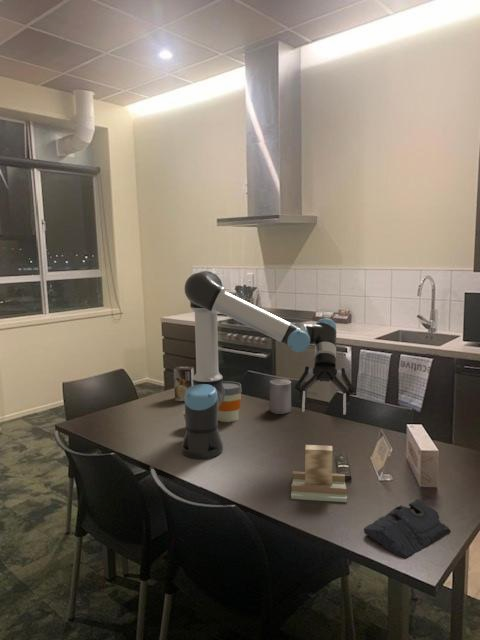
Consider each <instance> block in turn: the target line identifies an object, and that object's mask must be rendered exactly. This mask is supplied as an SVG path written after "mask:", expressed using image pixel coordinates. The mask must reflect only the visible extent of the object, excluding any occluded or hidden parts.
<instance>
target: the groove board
mask: <svg viewBox="0 0 480 640" xmlns="http://www.w3.org/2000/svg"><path fill="white" fill-rule="evenodd" d="M290 485H291V492H290V499H291V500H305V501H321V502H335V503H336V502H337V503H347V502H348V496H347V490H348V489H347V485H346V474H345V473H333V472H332V485H315V484H305V471H296V470H295V471H294V470H293V471H292V483H291V484H290Z"/></svg>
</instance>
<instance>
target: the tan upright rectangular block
mask: <svg viewBox="0 0 480 640" xmlns="http://www.w3.org/2000/svg"><path fill="white" fill-rule="evenodd" d="M304 449H305V450H304V451H305V452H304V455H305V457H304V460H305V461H304V463H305V464H304V467H305V468H304V469H305V470H304V472H305V484H315V485H332V473H333V454H334V453H333V445H321V444H320V445H318V444H305V448H304Z"/></svg>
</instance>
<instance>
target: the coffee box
mask: <svg viewBox="0 0 480 640" xmlns="http://www.w3.org/2000/svg"><path fill="white" fill-rule="evenodd" d="M194 375H195V367H194V366H186V365H185V366H184V365H183V366H178V365H177V366H175V367H174V368H173V387H174V401H175V402H185V400H184V398H185V392H186V390H187V389H188V388H189V387H191V386H193V376H194Z"/></svg>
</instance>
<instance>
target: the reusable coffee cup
mask: <svg viewBox="0 0 480 640" xmlns="http://www.w3.org/2000/svg"><path fill="white" fill-rule="evenodd" d="M223 386H224V389H225V397H224V400H223V402H222V404H221V405H220V407H219V409H218V413H217V414H218V422H222V423H231V422H236V421H238V420H239V414H240V413H239V412H240V408H241V402H242V396H241V395H242V392H243V390H242V389H243V388H242V384H241V383H240V382H238V381H237V382H236V381H229V380H228V381H227V380H226V381H223Z"/></svg>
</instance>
